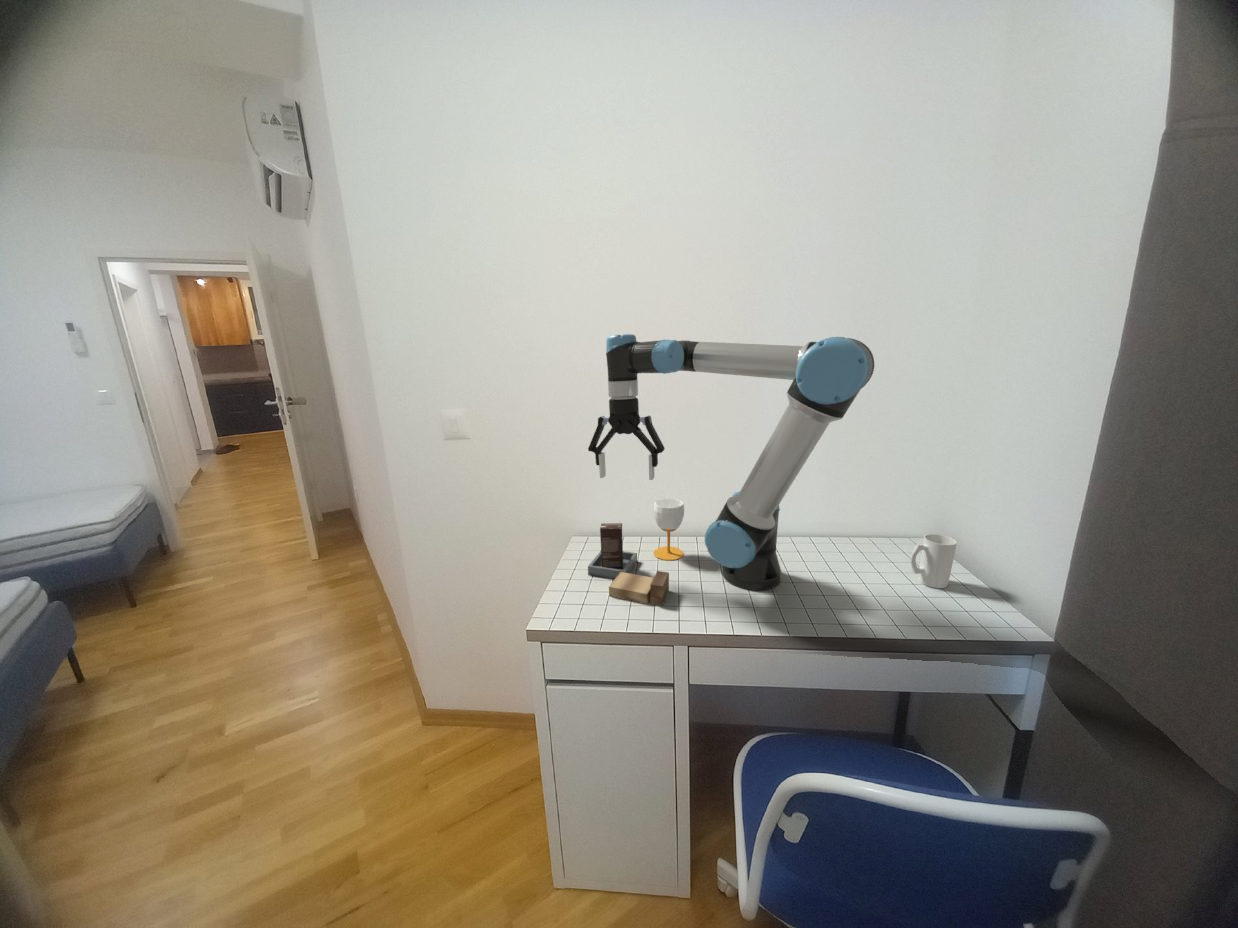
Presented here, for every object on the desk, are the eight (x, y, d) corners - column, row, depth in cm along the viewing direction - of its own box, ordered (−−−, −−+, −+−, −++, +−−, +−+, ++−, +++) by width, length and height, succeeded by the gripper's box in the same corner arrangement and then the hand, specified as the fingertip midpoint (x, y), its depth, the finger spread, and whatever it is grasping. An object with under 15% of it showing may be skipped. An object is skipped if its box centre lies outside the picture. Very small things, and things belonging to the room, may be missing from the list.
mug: (936, 575, 118) (943, 533, 115) (955, 588, 112) (963, 544, 109) (898, 576, 118) (905, 534, 115) (915, 590, 111) (923, 545, 108)
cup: (690, 555, 132) (691, 503, 128) (666, 563, 128) (667, 510, 124) (670, 544, 140) (670, 495, 136) (647, 552, 135) (647, 502, 131)
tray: (637, 560, 129) (637, 553, 129) (625, 580, 119) (624, 571, 118) (602, 556, 133) (602, 548, 132) (588, 574, 122) (587, 566, 121)
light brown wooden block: (657, 588, 115) (657, 578, 114) (646, 605, 108) (646, 594, 107) (621, 582, 119) (620, 571, 118) (609, 597, 112) (608, 586, 111)
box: (623, 561, 128) (622, 522, 125) (622, 569, 124) (622, 528, 120) (602, 561, 128) (600, 522, 125) (601, 569, 124) (599, 528, 121)
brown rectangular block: (668, 590, 113) (668, 572, 112) (662, 604, 107) (662, 586, 106) (657, 588, 114) (657, 570, 113) (650, 602, 108) (650, 584, 107)
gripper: (674, 395, 114) (675, 475, 119) (583, 397, 121) (588, 472, 126) (668, 398, 107) (670, 483, 112) (572, 399, 114) (578, 479, 119)
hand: (627, 477), depth 119 cm, fingers open, 13 cm apart
